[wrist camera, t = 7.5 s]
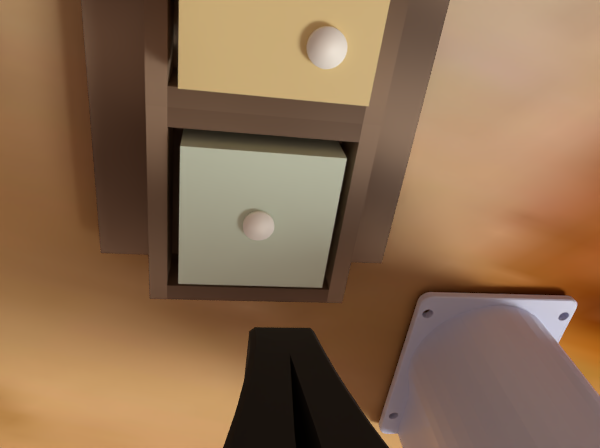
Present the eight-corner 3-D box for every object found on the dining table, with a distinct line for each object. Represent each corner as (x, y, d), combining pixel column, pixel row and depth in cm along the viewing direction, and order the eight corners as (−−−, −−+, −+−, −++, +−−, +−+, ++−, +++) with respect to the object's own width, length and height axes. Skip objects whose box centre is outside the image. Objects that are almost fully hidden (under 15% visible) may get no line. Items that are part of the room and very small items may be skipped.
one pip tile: (313, 255, 20) (322, 291, 18) (182, 250, 19) (177, 287, 17) (334, 134, 17) (348, 161, 15) (184, 122, 16) (179, 148, 14)
